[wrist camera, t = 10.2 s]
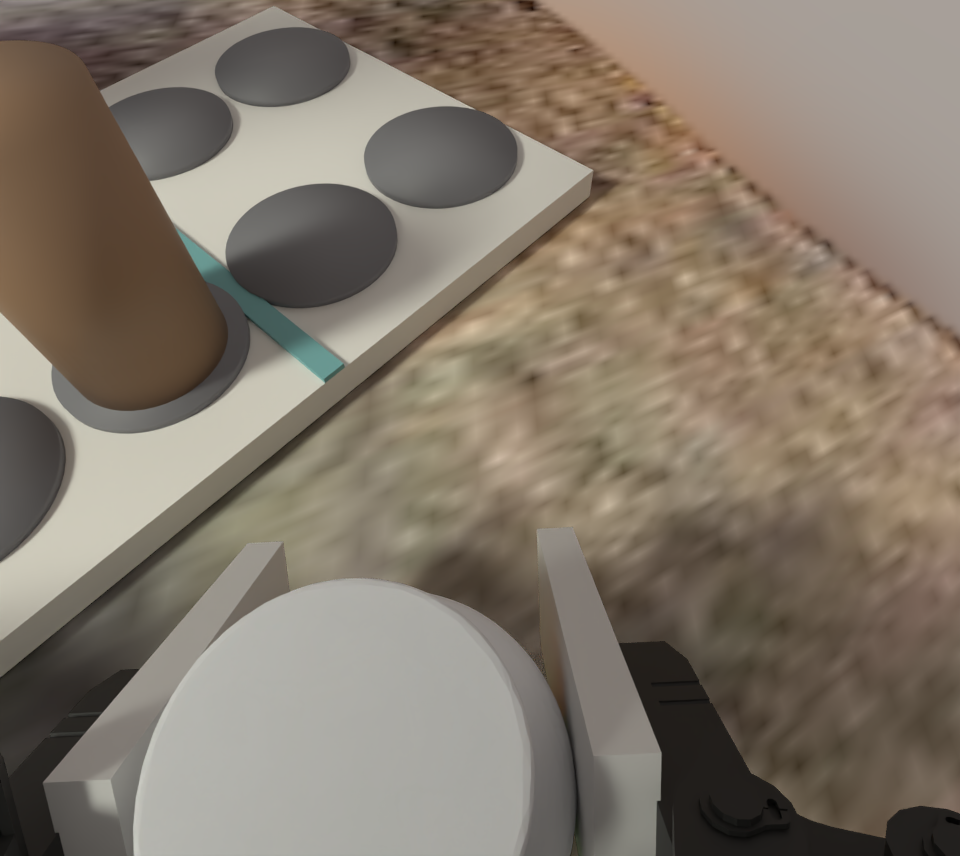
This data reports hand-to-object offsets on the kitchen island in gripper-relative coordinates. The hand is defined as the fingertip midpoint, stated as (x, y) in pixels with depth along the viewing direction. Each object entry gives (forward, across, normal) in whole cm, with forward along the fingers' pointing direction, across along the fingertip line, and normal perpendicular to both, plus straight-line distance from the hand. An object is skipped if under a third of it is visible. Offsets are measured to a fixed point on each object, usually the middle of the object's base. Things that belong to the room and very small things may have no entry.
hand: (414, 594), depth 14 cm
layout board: (+13, -10, +8) cm, 18 cm away
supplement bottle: (0, 0, -5) cm, 5 cm away
